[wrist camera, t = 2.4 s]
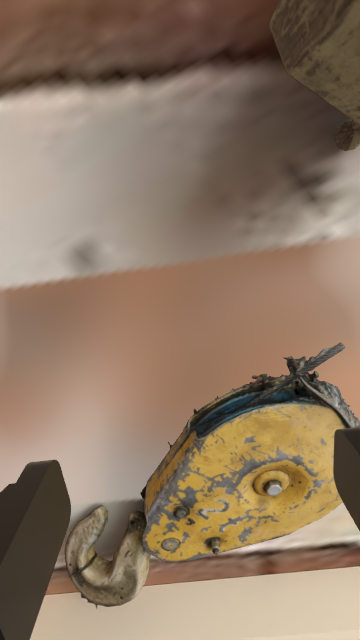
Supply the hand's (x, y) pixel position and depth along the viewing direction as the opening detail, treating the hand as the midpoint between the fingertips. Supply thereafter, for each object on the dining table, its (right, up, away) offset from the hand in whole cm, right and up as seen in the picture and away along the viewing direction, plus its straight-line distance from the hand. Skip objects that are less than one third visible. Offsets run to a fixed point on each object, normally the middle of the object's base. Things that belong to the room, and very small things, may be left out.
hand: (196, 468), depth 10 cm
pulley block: (+2, -9, +20) cm, 22 cm away
